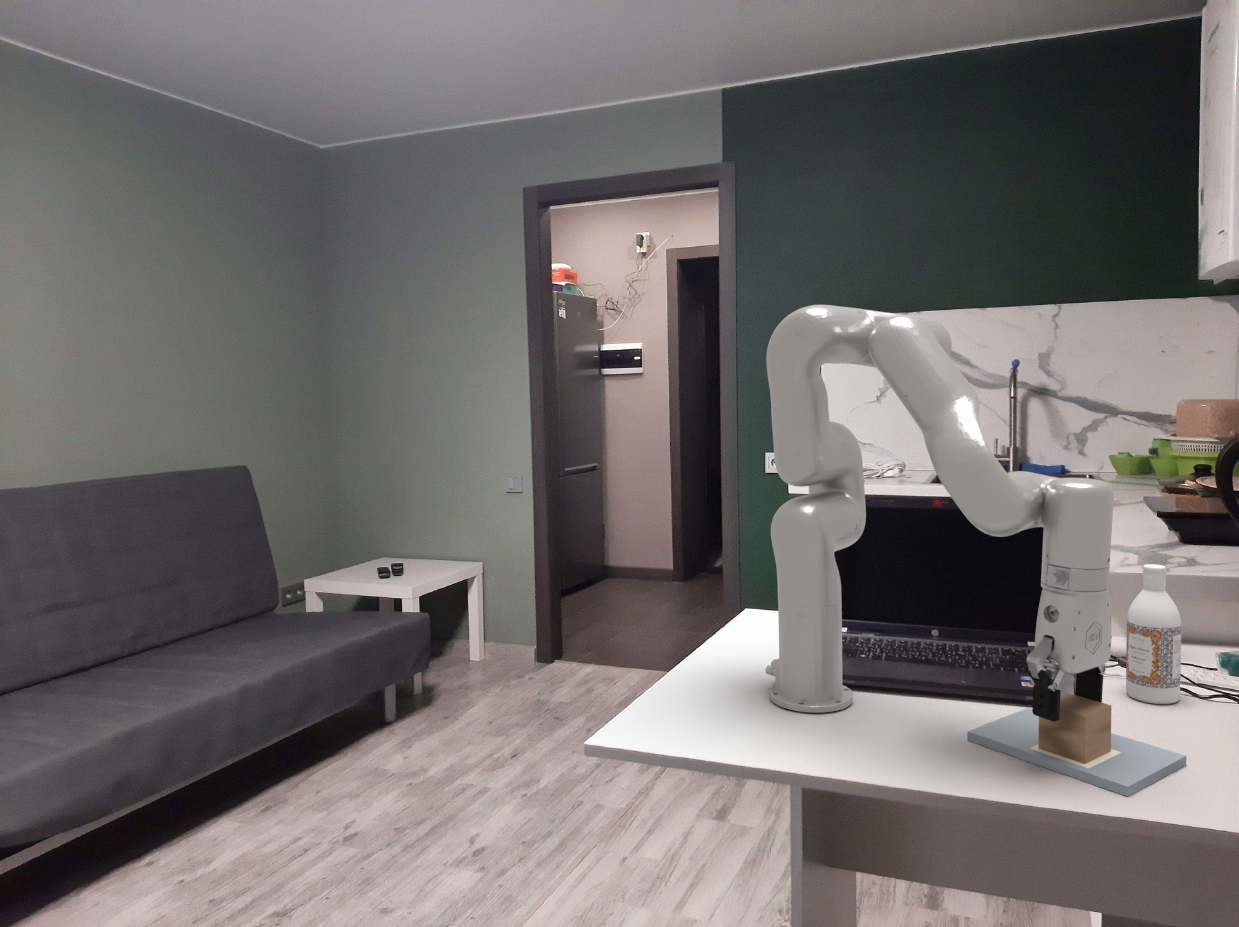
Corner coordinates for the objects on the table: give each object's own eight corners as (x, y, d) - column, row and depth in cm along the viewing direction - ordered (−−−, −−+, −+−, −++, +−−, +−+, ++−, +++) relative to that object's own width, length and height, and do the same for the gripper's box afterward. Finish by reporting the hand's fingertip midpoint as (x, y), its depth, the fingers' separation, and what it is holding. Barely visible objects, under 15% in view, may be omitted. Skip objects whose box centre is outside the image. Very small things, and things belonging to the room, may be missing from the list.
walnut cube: (1038, 748, 113) (1038, 702, 113) (1064, 736, 117) (1064, 692, 116) (1085, 763, 108) (1085, 716, 108) (1110, 751, 112) (1111, 705, 111)
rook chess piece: (1085, 722, 124) (1086, 666, 124) (1051, 720, 125) (1051, 665, 125) (1075, 710, 129) (1076, 656, 128) (1042, 709, 130) (1043, 656, 129)
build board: (967, 739, 120) (967, 730, 120) (1027, 715, 127) (1027, 707, 127) (1127, 796, 102) (1127, 786, 102) (1186, 764, 110) (1186, 755, 110)
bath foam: (1115, 694, 135) (1116, 564, 133) (1146, 686, 138) (1148, 559, 136) (1158, 708, 129) (1160, 572, 127) (1190, 700, 131) (1193, 567, 130)
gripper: (1065, 593, 103) (1057, 735, 105) (1141, 573, 112) (1132, 704, 114) (1006, 580, 109) (999, 714, 111) (1082, 563, 119) (1075, 686, 120)
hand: (1067, 709), depth 113 cm, fingers open, 9 cm apart
